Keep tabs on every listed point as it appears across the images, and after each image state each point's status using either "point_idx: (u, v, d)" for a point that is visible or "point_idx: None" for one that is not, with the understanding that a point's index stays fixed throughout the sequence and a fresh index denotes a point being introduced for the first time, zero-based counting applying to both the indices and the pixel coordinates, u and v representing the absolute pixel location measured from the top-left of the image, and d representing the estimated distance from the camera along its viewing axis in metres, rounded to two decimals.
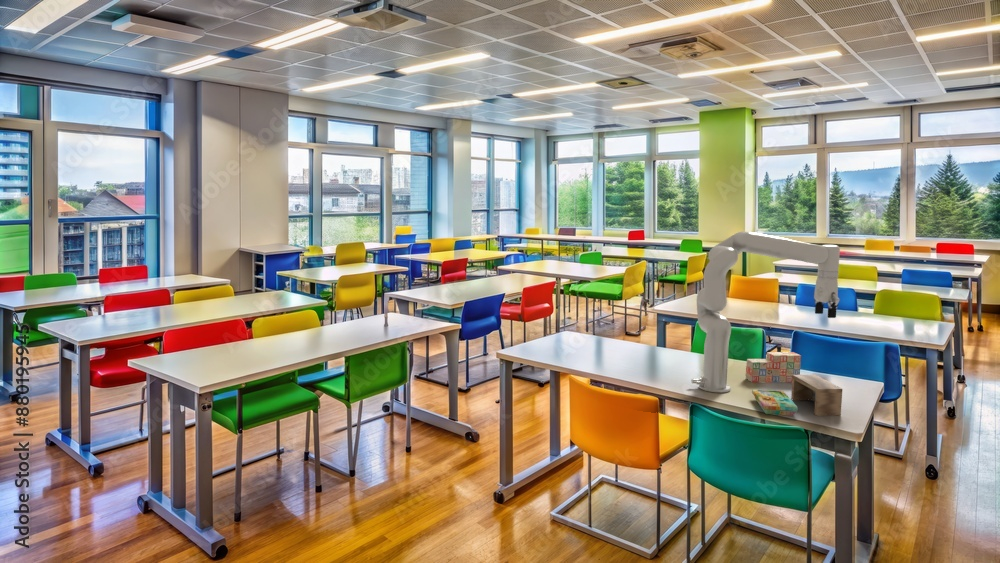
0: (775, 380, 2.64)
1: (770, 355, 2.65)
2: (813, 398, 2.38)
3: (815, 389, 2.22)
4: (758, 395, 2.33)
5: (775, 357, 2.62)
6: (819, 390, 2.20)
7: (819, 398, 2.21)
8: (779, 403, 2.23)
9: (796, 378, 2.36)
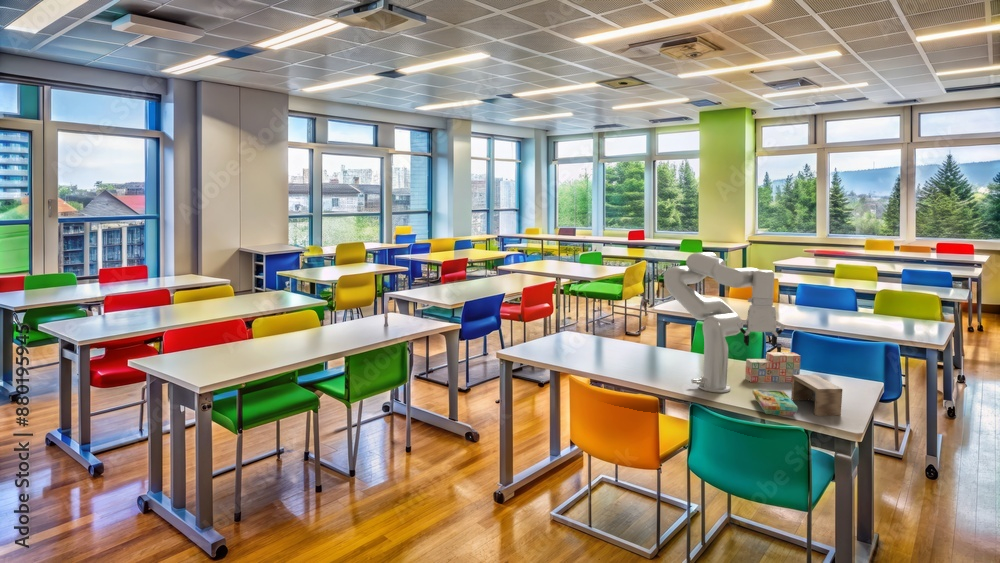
0: (774, 380, 2.63)
1: (770, 355, 2.65)
2: (813, 398, 2.38)
3: (815, 389, 2.22)
4: (758, 395, 2.33)
5: (774, 357, 2.62)
6: (819, 390, 2.20)
7: (819, 398, 2.21)
8: (779, 403, 2.23)
9: (796, 378, 2.36)
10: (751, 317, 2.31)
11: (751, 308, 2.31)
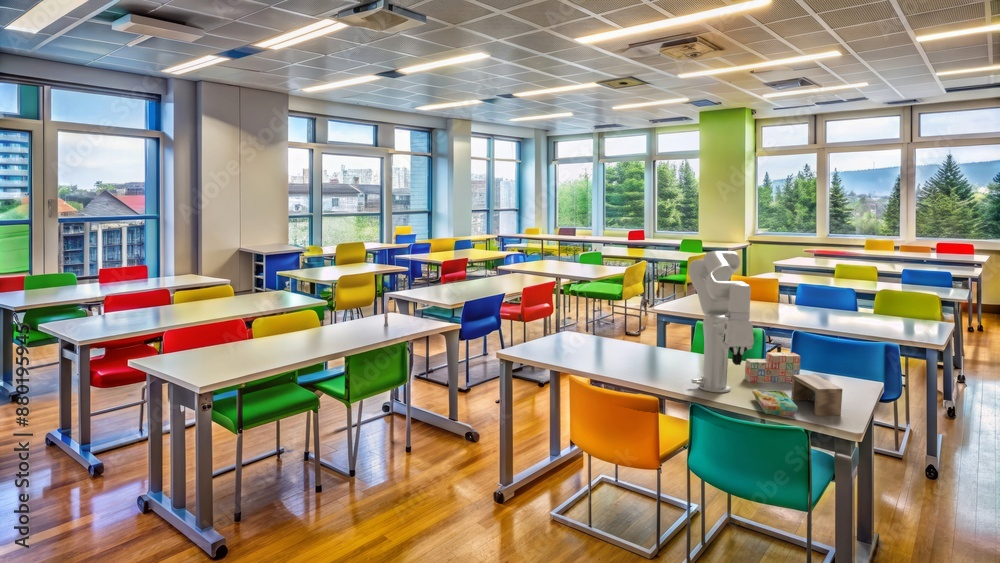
0: (774, 380, 2.63)
1: (769, 355, 2.65)
2: (813, 398, 2.38)
3: (815, 389, 2.22)
4: (758, 395, 2.33)
5: (774, 358, 2.62)
6: (819, 390, 2.20)
7: (819, 398, 2.21)
8: (779, 403, 2.23)
9: (796, 378, 2.36)
10: (729, 332, 2.25)
11: (729, 323, 2.25)
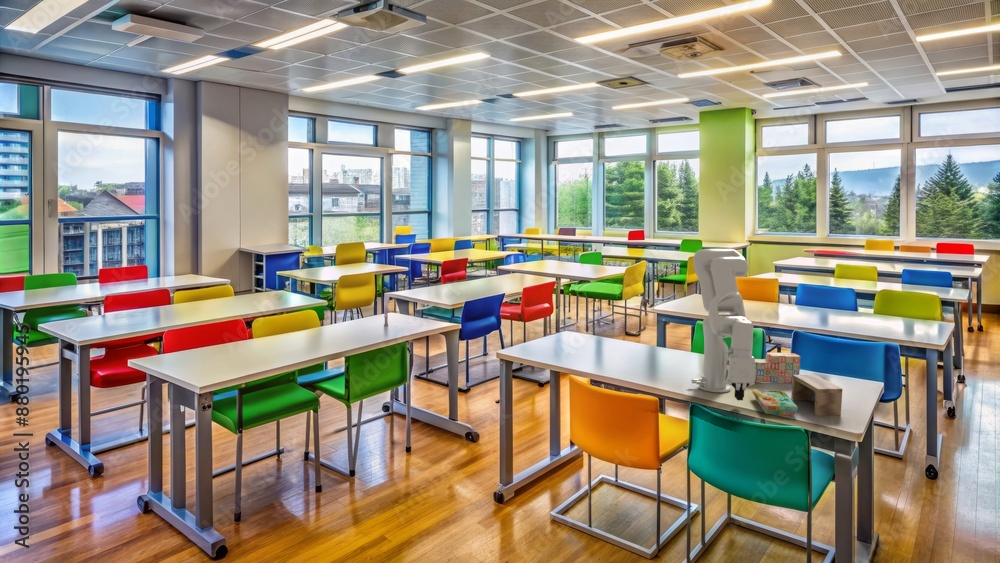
0: (773, 381, 2.63)
1: (769, 355, 2.64)
2: (813, 398, 2.38)
3: (815, 389, 2.22)
4: (758, 395, 2.33)
5: (773, 358, 2.62)
6: (819, 390, 2.20)
7: (819, 398, 2.21)
8: (779, 403, 2.23)
9: (796, 378, 2.36)
10: (732, 368, 2.26)
11: (731, 359, 2.27)
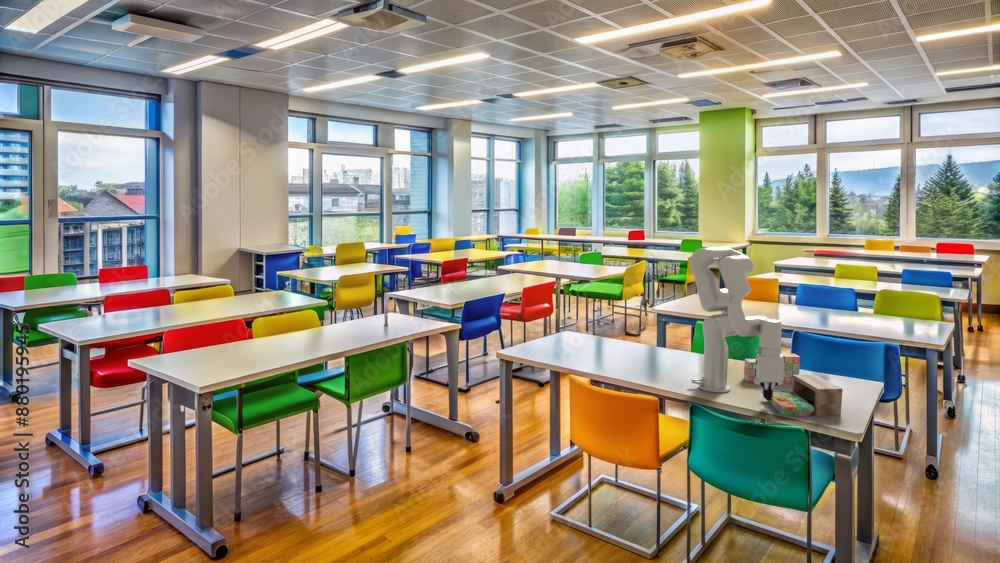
0: None
1: None
2: (813, 398, 2.38)
3: (815, 389, 2.22)
4: None
5: None
6: (819, 390, 2.20)
7: (819, 398, 2.21)
8: (795, 404, 2.22)
9: (796, 378, 2.36)
10: (760, 368, 2.26)
11: (760, 359, 2.26)
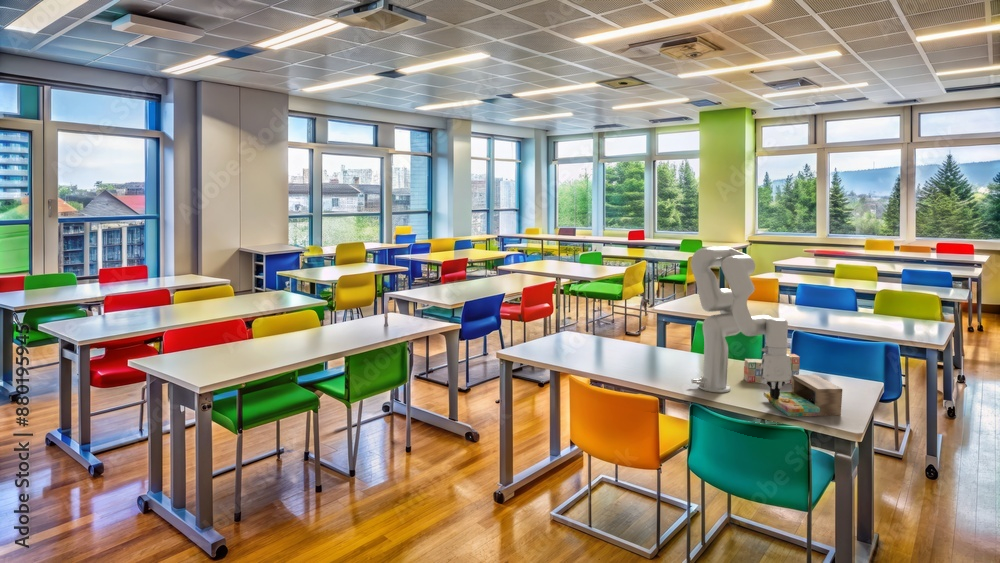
0: None
1: None
2: (813, 398, 2.38)
3: (815, 389, 2.22)
4: None
5: None
6: (819, 390, 2.20)
7: (819, 398, 2.21)
8: (801, 405, 2.22)
9: (796, 378, 2.36)
10: (767, 367, 2.26)
11: (767, 358, 2.26)
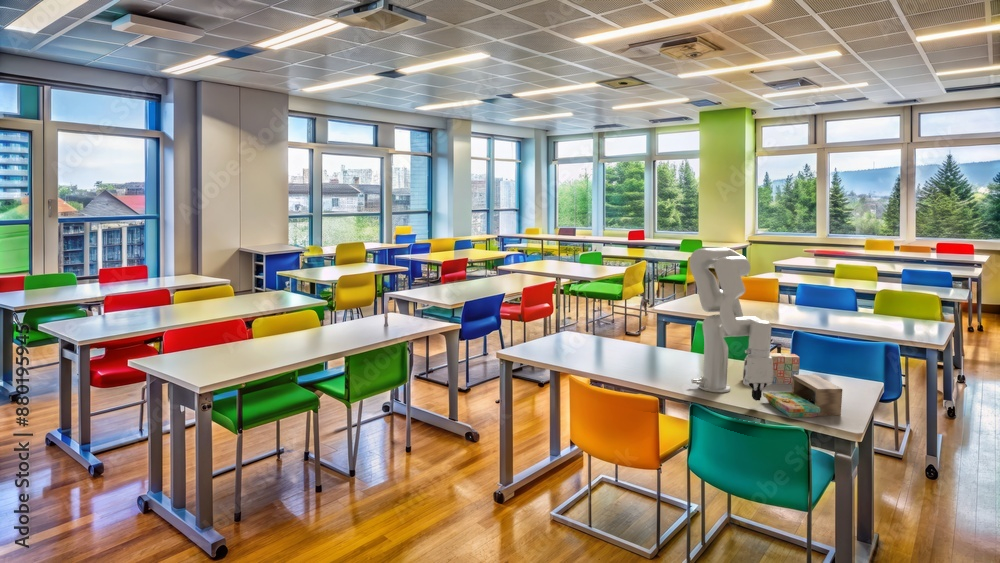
0: None
1: None
2: (813, 398, 2.38)
3: (815, 389, 2.22)
4: (774, 398, 2.30)
5: (772, 358, 2.61)
6: (819, 390, 2.20)
7: (819, 398, 2.21)
8: (801, 405, 2.21)
9: (796, 378, 2.36)
10: (750, 369, 2.26)
11: (749, 360, 2.27)
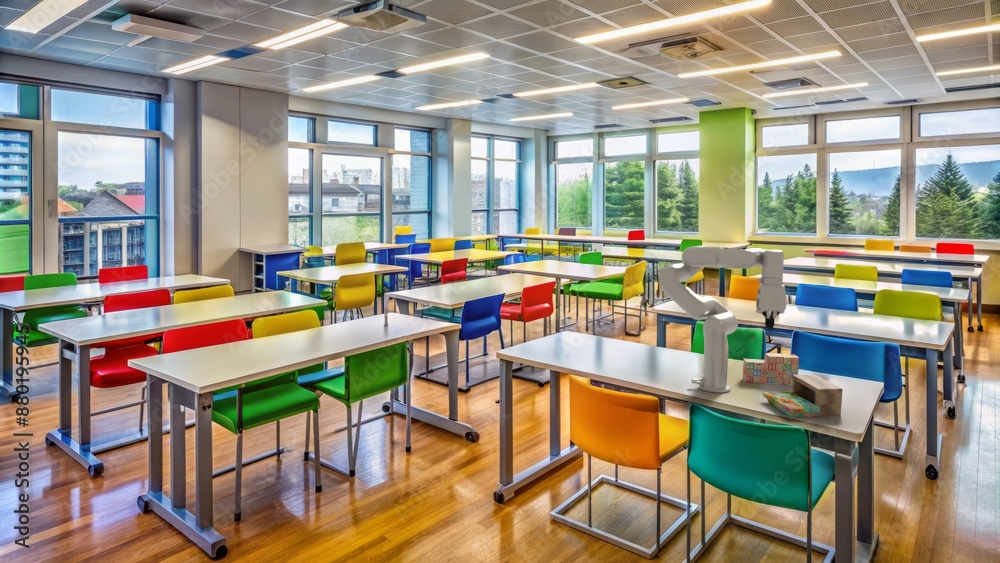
0: (771, 381, 2.62)
1: (767, 356, 2.63)
2: (813, 398, 2.38)
3: (815, 389, 2.22)
4: (774, 398, 2.30)
5: (770, 358, 2.61)
6: (819, 390, 2.20)
7: (819, 398, 2.21)
8: (801, 405, 2.21)
9: (796, 378, 2.36)
10: (763, 297, 2.32)
11: (762, 288, 2.32)
